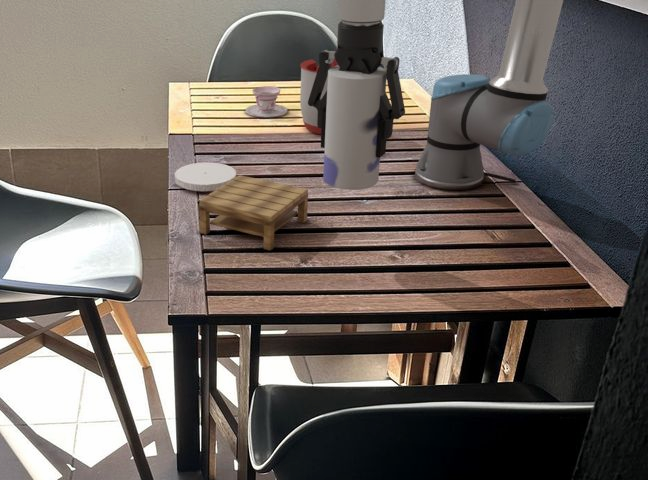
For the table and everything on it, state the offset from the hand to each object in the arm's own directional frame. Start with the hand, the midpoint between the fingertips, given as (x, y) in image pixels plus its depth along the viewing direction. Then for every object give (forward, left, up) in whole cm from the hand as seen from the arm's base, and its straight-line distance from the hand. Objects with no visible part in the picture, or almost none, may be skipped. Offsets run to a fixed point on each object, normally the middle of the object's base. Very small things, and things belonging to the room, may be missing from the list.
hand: (352, 150), depth 146 cm
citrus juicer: (+34, -65, -20) cm, 76 cm away
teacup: (+55, -70, -20) cm, 91 cm away
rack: (+20, 0, -20) cm, 28 cm away
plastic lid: (+41, -15, -20) cm, 48 cm away
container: (0, 0, -6) cm, 6 cm away
